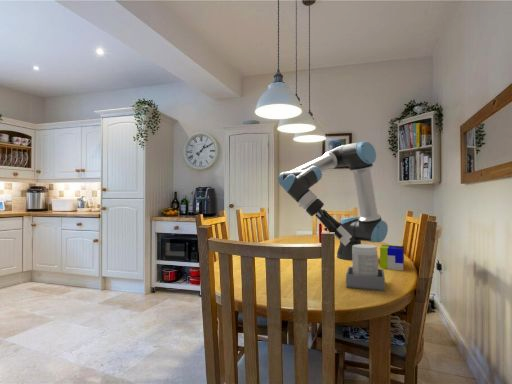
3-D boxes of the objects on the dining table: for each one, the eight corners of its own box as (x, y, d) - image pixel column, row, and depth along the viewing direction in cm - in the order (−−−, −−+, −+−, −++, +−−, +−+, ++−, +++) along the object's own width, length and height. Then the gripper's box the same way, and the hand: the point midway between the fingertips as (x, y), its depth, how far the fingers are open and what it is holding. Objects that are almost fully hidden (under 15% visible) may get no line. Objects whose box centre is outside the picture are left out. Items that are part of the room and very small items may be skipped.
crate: (348, 278, 129) (348, 266, 129) (383, 281, 124) (383, 269, 124) (346, 287, 116) (346, 274, 116) (384, 291, 111) (384, 277, 112)
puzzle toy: (402, 270, 143) (402, 249, 143) (380, 268, 148) (380, 247, 148) (404, 266, 152) (403, 246, 152) (382, 264, 156) (382, 244, 157)
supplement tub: (383, 283, 119) (382, 246, 120) (368, 287, 114) (367, 248, 114) (362, 278, 127) (362, 243, 128) (347, 281, 122) (347, 245, 122)
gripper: (310, 208, 141) (344, 242, 135) (298, 211, 117) (339, 252, 112) (321, 197, 139) (356, 231, 133) (312, 197, 115) (354, 238, 110)
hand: (348, 241), depth 123 cm, fingers open, 13 cm apart
